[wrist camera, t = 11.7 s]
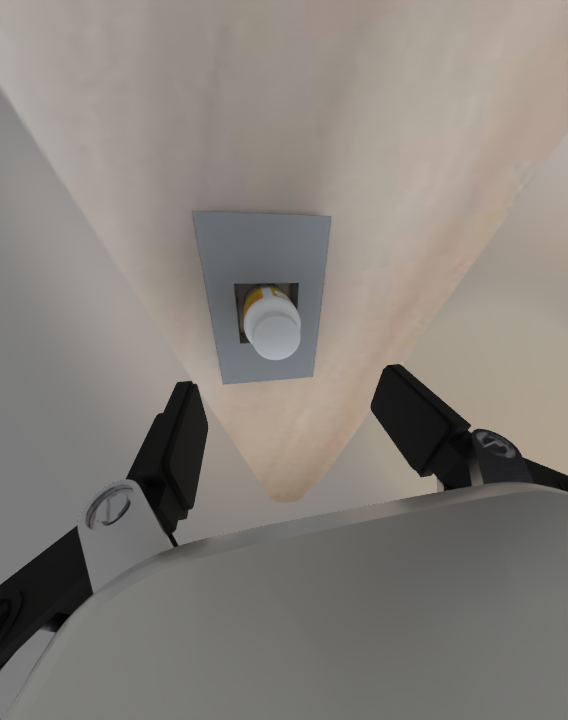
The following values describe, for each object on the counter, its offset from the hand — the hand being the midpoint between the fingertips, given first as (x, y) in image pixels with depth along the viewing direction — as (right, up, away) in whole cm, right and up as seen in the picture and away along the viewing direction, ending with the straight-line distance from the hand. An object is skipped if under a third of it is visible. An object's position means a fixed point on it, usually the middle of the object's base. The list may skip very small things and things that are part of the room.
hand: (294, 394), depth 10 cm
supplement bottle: (-3, +8, +14) cm, 17 cm away
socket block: (-3, +8, +14) cm, 17 cm away
